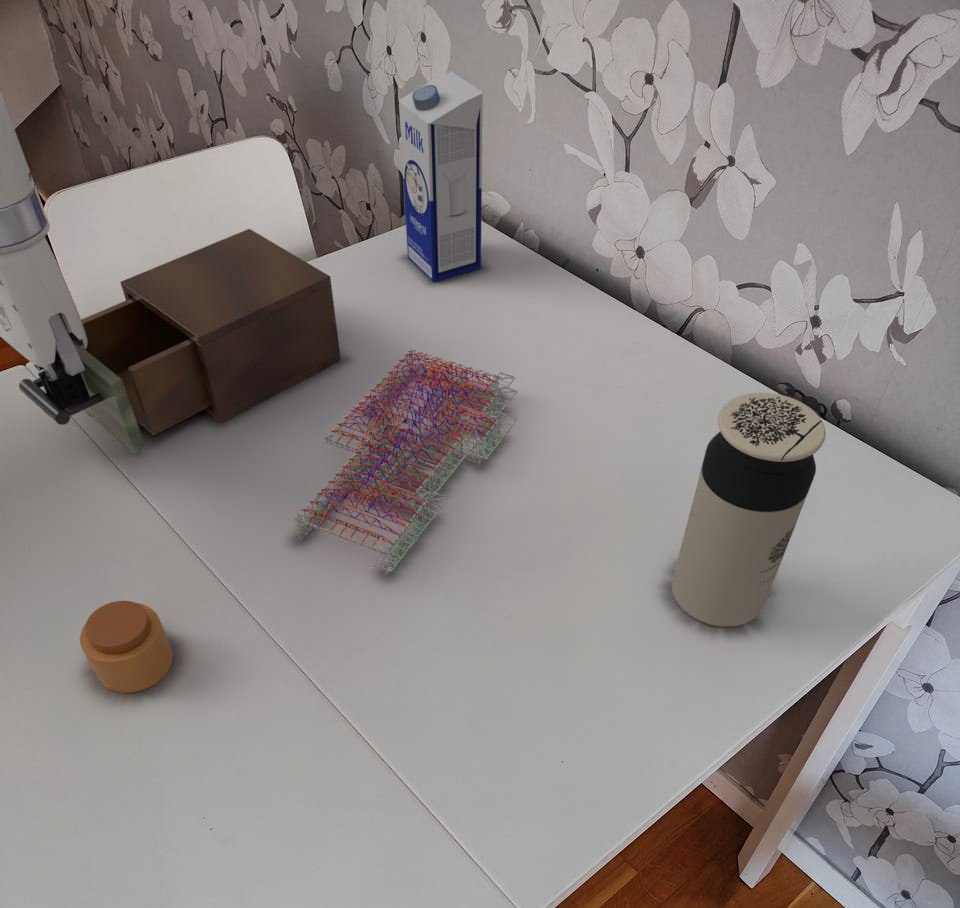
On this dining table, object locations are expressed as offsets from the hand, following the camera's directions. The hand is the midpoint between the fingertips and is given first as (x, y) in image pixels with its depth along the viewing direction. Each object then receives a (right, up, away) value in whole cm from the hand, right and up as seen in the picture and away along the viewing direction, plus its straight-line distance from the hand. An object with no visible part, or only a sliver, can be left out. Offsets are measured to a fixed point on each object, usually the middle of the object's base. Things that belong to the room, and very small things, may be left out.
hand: (72, 405), depth 86 cm
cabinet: (+13, +8, +12) cm, 19 cm away
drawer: (+5, +2, +6) cm, 8 cm away
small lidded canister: (+11, -24, -14) cm, 30 cm away
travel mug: (+60, -19, -9) cm, 63 cm away
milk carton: (+35, +24, +26) cm, 50 cm away
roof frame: (+32, -6, +2) cm, 33 cm away
